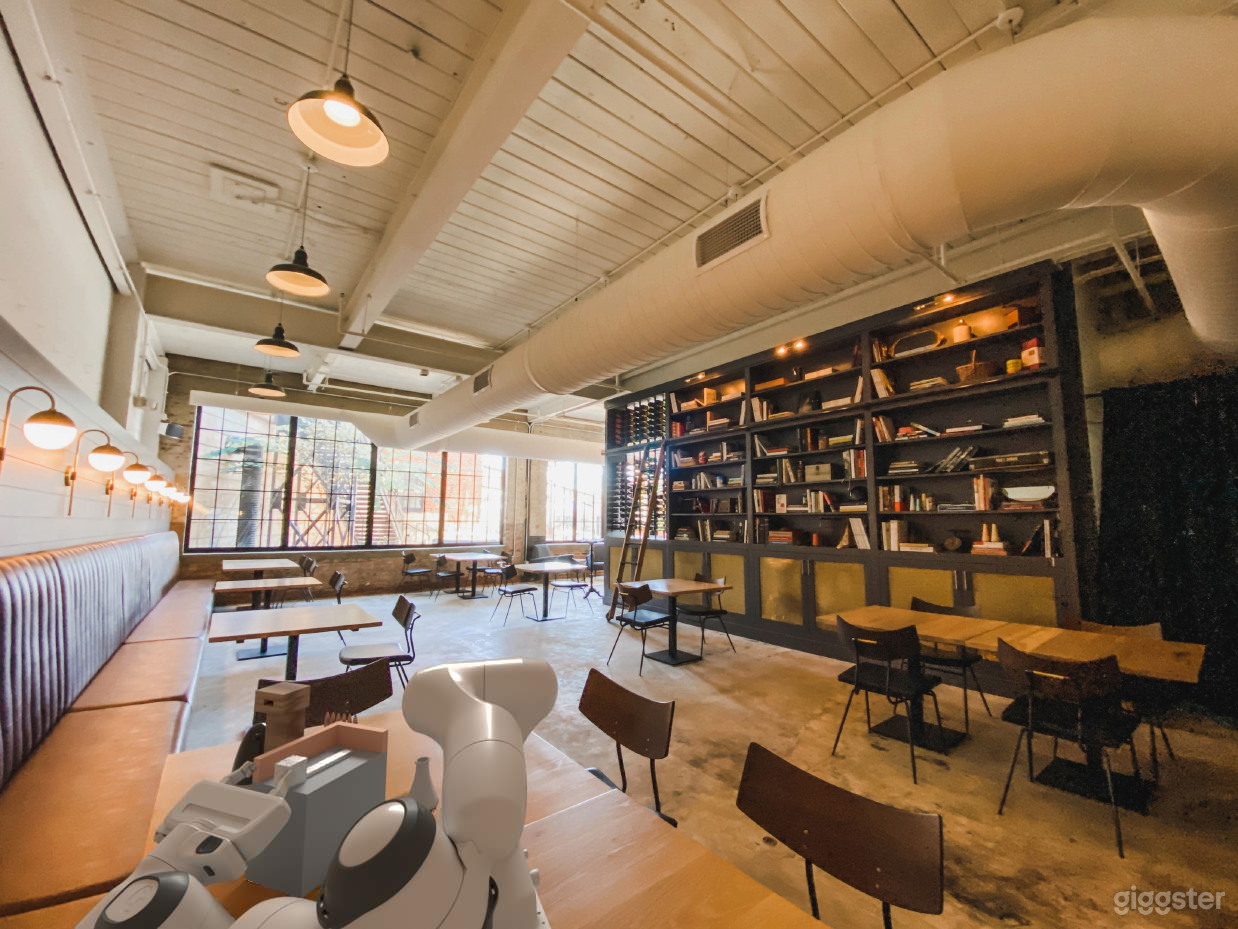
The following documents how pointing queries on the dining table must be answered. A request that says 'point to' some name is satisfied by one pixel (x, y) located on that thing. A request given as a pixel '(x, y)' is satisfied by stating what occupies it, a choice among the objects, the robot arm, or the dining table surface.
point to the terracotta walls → (323, 745)
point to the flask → (423, 784)
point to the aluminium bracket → (301, 770)
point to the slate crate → (318, 820)
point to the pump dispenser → (250, 751)
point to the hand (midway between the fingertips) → (272, 768)
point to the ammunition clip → (339, 719)
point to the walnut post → (282, 712)
